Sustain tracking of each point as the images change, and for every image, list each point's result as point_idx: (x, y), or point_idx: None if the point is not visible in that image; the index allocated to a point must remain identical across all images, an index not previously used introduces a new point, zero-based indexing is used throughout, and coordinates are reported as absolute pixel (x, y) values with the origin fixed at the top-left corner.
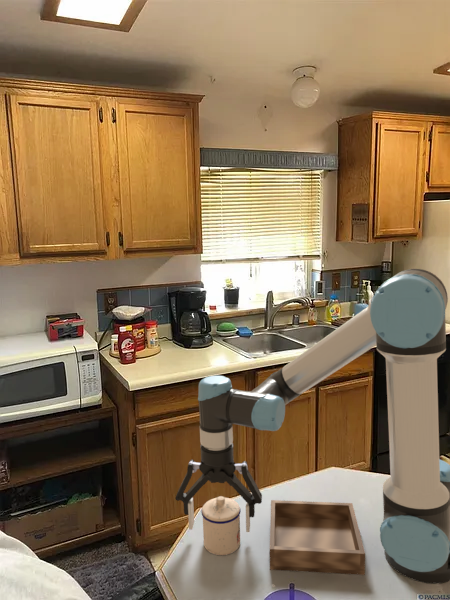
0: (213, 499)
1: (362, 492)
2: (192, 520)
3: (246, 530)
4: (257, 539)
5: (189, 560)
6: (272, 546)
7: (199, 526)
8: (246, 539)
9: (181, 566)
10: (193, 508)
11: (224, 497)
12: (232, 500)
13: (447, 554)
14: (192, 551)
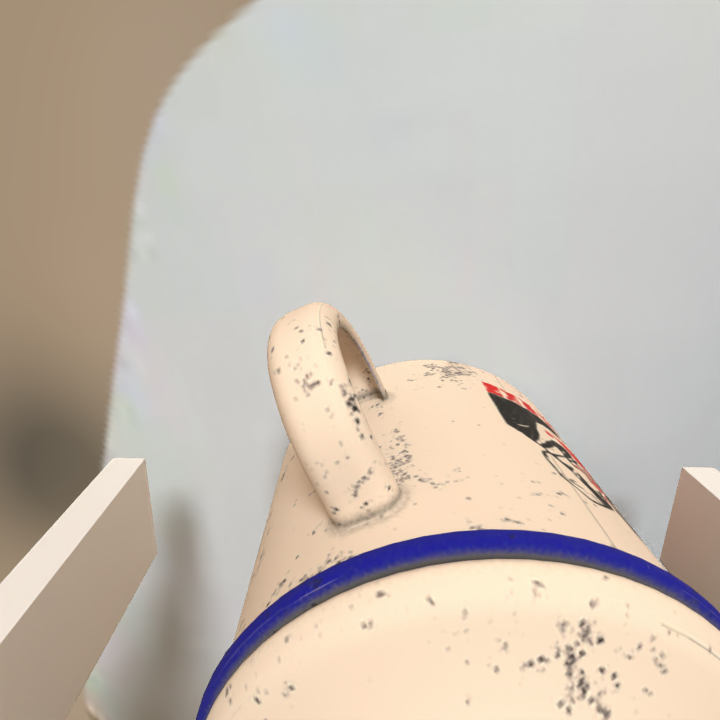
0: (345, 708)
1: None
2: (122, 577)
3: (671, 573)
4: (694, 431)
5: (220, 635)
6: None
7: (200, 299)
8: (607, 436)
9: (184, 676)
10: (59, 575)
11: (552, 618)
12: (703, 705)
13: None
14: (218, 566)
